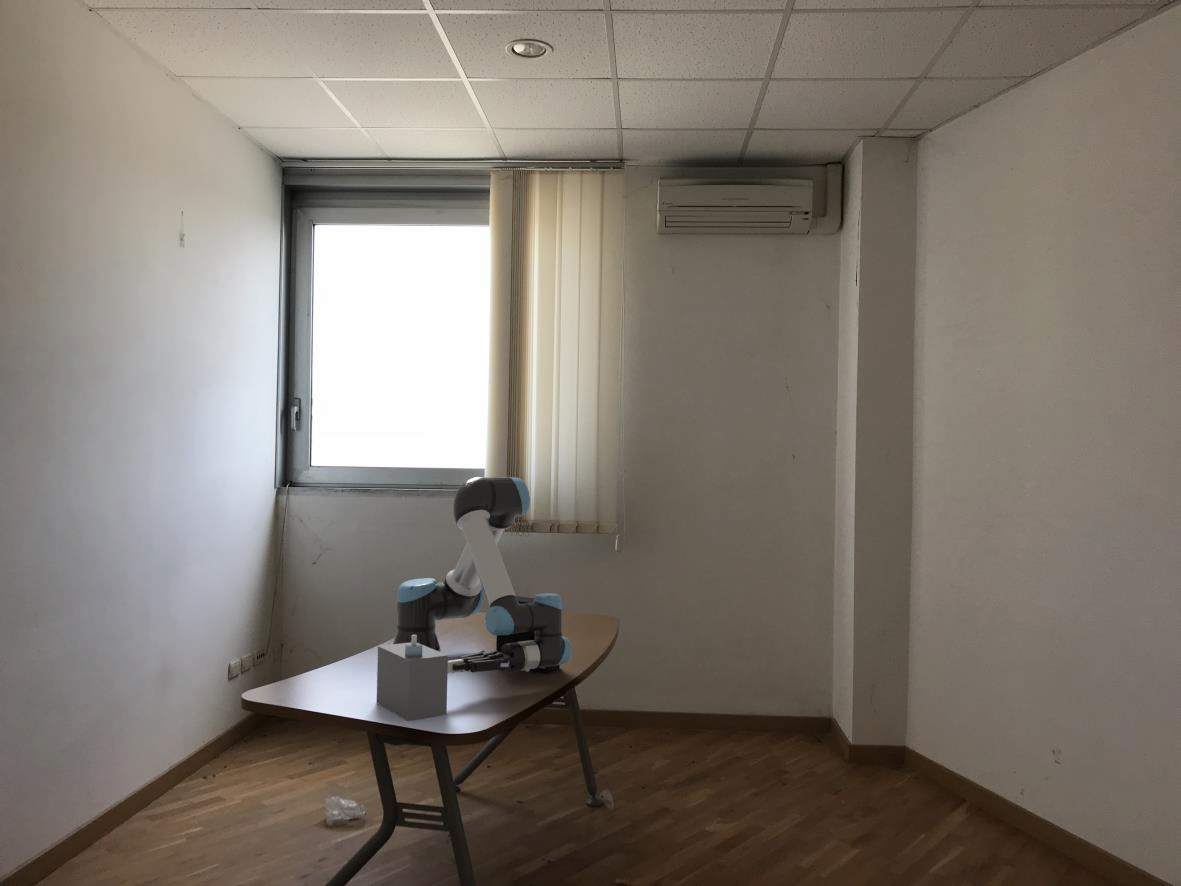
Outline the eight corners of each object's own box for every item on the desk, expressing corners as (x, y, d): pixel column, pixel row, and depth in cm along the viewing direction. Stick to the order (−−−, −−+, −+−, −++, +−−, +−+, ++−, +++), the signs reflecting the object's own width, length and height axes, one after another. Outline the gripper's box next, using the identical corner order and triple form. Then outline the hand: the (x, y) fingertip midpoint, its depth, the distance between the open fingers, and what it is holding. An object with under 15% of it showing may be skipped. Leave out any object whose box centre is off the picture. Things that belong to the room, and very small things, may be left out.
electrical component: (563, 668, 255) (564, 600, 256) (544, 675, 247) (545, 604, 247) (514, 660, 264) (516, 594, 265) (494, 667, 256) (496, 598, 256)
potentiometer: (402, 654, 207) (402, 634, 207) (417, 653, 209) (418, 633, 209) (409, 658, 204) (410, 637, 204) (425, 656, 206) (425, 635, 206)
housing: (376, 702, 216) (378, 646, 216) (413, 696, 222) (415, 641, 222) (407, 721, 201) (409, 660, 202) (446, 714, 207) (447, 655, 208)
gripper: (532, 675, 225) (451, 689, 210) (505, 665, 235) (426, 677, 221) (532, 646, 225) (452, 658, 211) (505, 638, 235) (427, 648, 221)
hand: (439, 668), depth 216 cm, fingers closed
